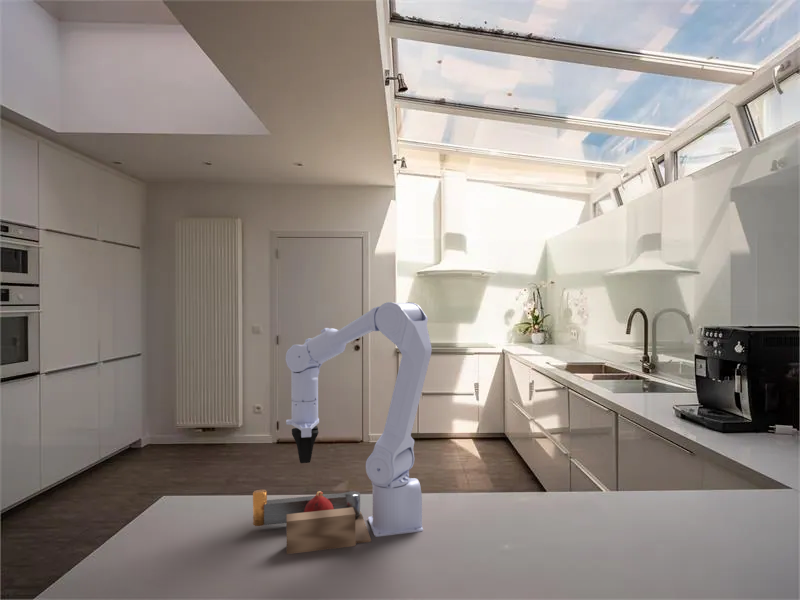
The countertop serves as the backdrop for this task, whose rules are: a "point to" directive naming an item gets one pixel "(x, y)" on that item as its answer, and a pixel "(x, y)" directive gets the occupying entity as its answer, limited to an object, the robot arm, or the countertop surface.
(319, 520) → the bench
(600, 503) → the countertop surface
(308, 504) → the onion
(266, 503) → the lever
